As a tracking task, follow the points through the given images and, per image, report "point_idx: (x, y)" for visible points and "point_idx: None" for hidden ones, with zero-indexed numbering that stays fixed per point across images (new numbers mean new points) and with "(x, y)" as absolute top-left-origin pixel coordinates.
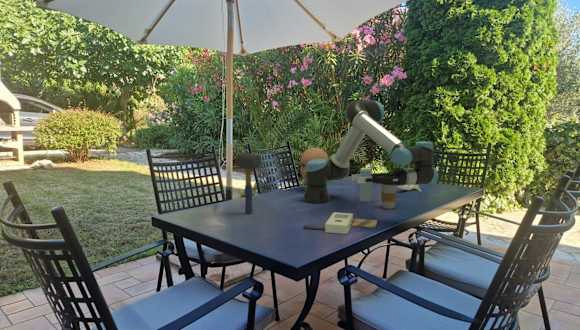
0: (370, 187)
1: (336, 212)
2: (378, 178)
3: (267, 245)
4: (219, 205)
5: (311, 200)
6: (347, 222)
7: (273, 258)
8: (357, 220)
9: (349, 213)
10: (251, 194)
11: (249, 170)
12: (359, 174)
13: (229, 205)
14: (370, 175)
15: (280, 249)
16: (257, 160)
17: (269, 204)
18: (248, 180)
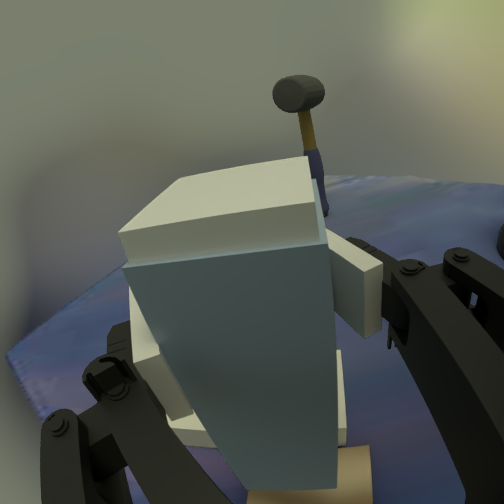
0: (211, 435)
1: (340, 359)
2: (45, 438)
3: (99, 301)
4: (354, 180)
5: (501, 246)
6: (172, 423)
7: (43, 322)
8: (338, 463)
9: (342, 411)
10: (312, 174)
11: (301, 116)
12: (328, 233)
13: (363, 185)
14: (154, 329)
15: (73, 321)
16: (289, 91)
17: (416, 210)
18: (303, 140)
